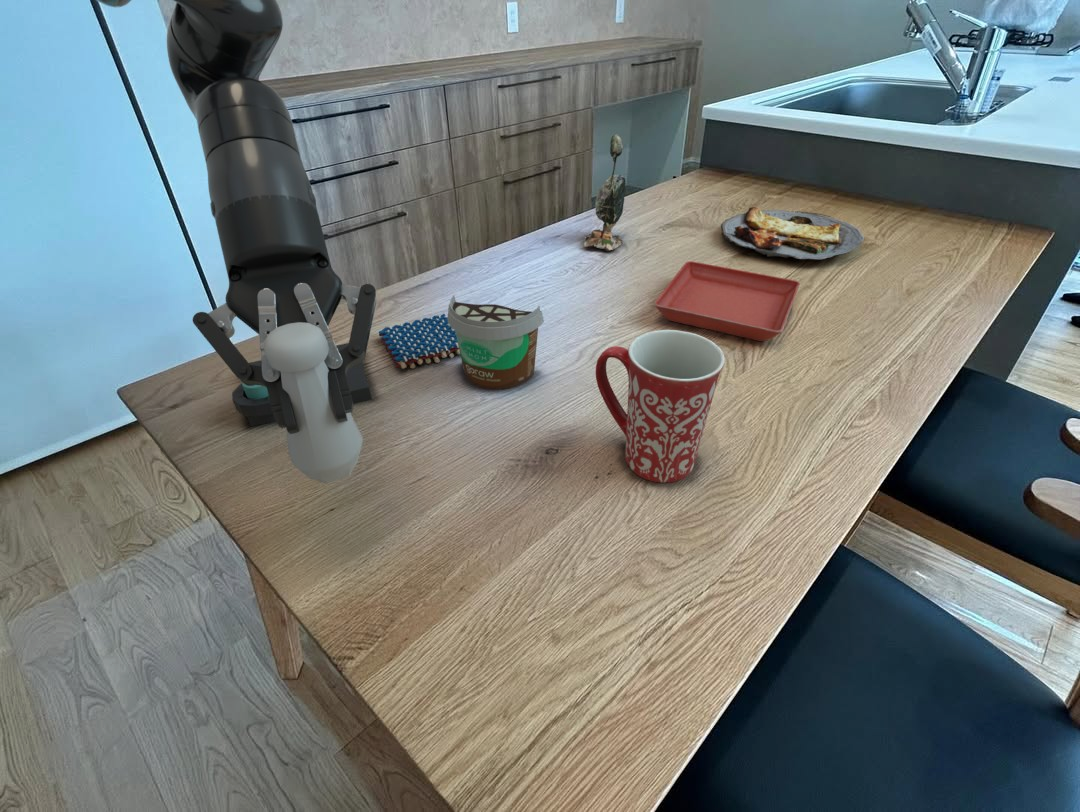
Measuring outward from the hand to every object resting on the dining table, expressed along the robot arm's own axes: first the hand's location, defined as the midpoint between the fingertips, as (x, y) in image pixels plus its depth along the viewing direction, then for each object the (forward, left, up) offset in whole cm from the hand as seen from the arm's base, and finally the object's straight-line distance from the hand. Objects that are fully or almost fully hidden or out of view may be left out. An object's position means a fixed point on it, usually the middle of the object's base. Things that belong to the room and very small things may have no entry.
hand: (317, 425), depth 44 cm
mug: (+31, +2, -15) cm, 35 cm away
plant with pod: (+55, +59, -15) cm, 82 cm away
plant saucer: (+59, +26, -15) cm, 66 cm away
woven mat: (+14, +34, -15) cm, 40 cm away
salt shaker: (0, +2, -6) cm, 6 cm away
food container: (+20, +22, -15) cm, 33 cm away
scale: (-2, +30, -15) cm, 33 cm away
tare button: (-7, +26, -12) cm, 29 cm away
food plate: (+87, +45, -15) cm, 99 cm away
